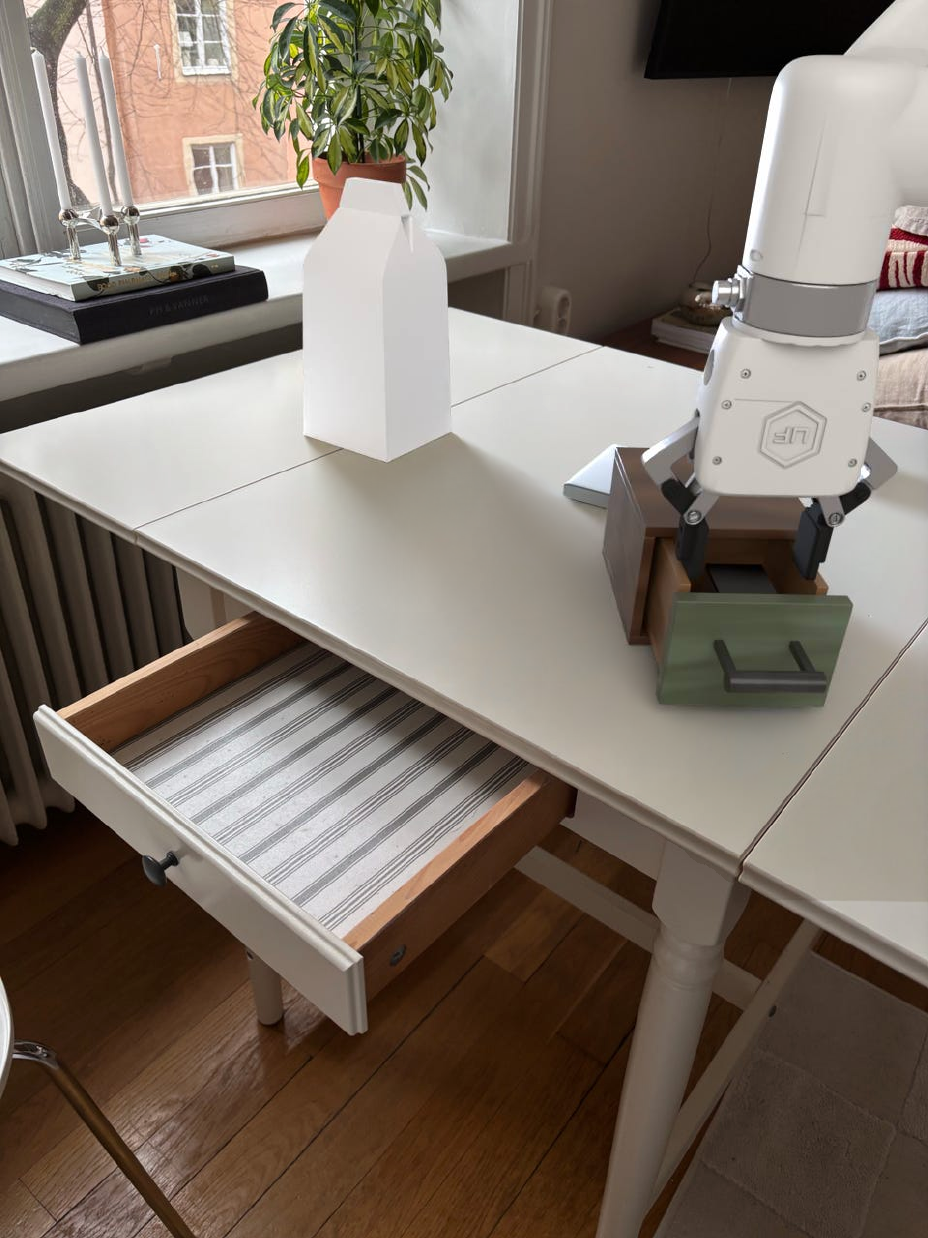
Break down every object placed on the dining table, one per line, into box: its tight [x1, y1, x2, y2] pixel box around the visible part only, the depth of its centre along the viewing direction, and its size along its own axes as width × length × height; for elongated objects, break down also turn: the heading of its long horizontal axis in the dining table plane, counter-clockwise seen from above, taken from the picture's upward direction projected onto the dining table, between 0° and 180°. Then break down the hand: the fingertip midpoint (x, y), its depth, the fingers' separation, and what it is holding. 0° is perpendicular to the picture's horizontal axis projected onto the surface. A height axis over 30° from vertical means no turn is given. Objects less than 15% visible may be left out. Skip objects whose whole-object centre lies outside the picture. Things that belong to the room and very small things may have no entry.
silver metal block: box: [700, 563, 778, 594], centre depth 67 cm, size 4×5×6 cm
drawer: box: [643, 537, 854, 708], centre depth 67 cm, size 18×11×8 cm, turn 1°
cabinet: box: [601, 446, 806, 646], centre depth 76 cm, size 15×13×10 cm
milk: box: [302, 176, 453, 463], centre depth 100 cm, size 12×12×26 cm
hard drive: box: [562, 443, 627, 509], centre depth 97 cm, size 2×8×12 cm
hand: (746, 567), depth 65 cm, fingers open, 7 cm apart
